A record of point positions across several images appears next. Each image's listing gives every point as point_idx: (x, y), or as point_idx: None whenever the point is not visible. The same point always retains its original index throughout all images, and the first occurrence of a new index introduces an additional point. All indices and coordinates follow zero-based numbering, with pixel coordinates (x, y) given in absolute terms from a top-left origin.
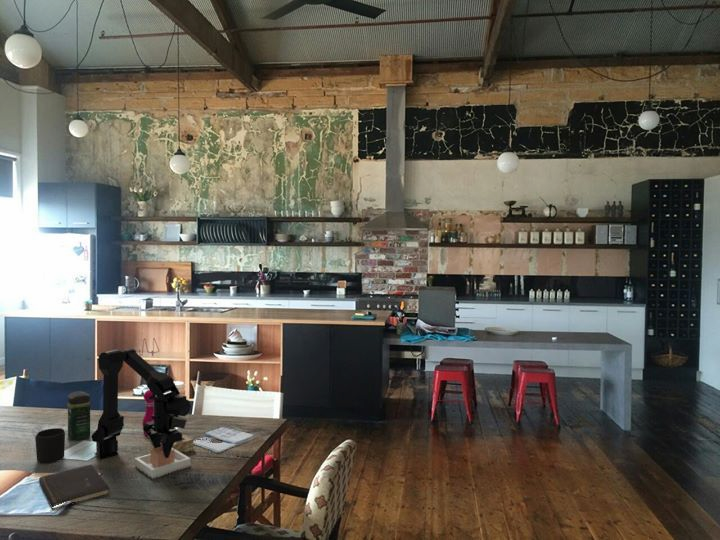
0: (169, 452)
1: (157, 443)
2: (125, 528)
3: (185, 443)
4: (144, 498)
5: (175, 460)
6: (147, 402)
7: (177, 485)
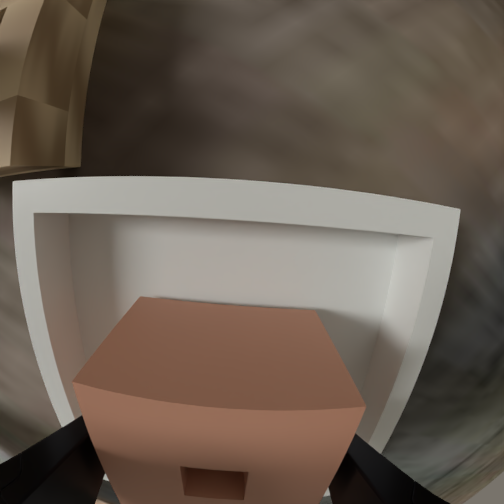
0: (379, 463)
1: (72, 495)
2: (470, 494)
3: (49, 26)
4: (435, 478)
5: (232, 248)
6: None
7: (491, 381)
